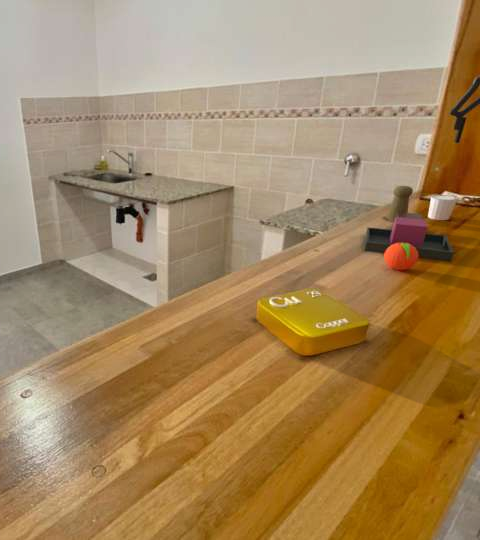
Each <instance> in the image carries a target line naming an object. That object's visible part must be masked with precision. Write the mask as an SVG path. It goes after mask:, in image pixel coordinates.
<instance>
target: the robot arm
mask: <svg viewBox="0 0 480 540" xmlns="http://www.w3.org/2000/svg"><path fill="white" fill-rule="evenodd" d="M479 88H480V76H477V77H475V78H474V80H473V82H472V84H471V86H470V87H469V88H468V90H467V91H466V92H465V93H464V94H463V95H462V96H461V98H460V99H459V100H458V101H457V103H456V104H455V105H453V107H452V108H451V109H450V111H449V112H448V114H449V115H450V116H452V117H455V121H454V124H453V128H452V129H453V130H454V131H456V134H455V138H454V141H453V143H455V144H459V143H460V141H461V138H462V134H463V132H464V131H463V130H464V127H465V125H466V121H467V117H466V115H467V114H468V113H470V112H471V111H472V110H474V109H475V108H476V107H477V106H479V105H480V95H479V96H478V97H476V99H474V100H472V101H471V102H470V103H469V104H468V105H467V106H465V107H464V108H463V109H462V107H463V106H464V105H465V104H466V103H467V101H468V100H469V99H470V98H471V97H472V96H473V95H474V93H476V91H477V90H478V89H479Z"/></svg>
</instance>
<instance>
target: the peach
mask: <svg viewBox="0 0 480 540" xmlns="http://www.w3.org/2000/svg"><path fill="white" fill-rule="evenodd" d="M383 255H384V256H383V258H384V262H385V264H386V265H387V266H388V267H389V268H391V269H393V270H395V271H405V270H409V269H411V268H413V267H415V265H416V264H417V262H418V260H419V257H418V256H419V255H418V251H417V250H416V248H415V247H414V246H412V245H411V244H408V243H405V242H404V243H403V242H400V243H395V244H393V245H391V246H390V247H388V249H387V250H386V252H385V253H383Z"/></svg>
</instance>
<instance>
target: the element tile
mask: <svg viewBox="0 0 480 540" xmlns="http://www.w3.org/2000/svg"><path fill="white" fill-rule="evenodd" d="M255 318H256V321H257V322H258V323H260V325H262V326H263V327H264V328H265V329H266V330H268V331H269V332H270V333H271V334H272V335H274V336H275V337H276V338H277V339H278V340H280V341H281V342H282V343H283V344H285V345H286V346H287V347H288V348H290V349H291V350H292V351H293V352H294V353H296V354H298V355H300V356H304V357H310V356H311V357H312V356H317V355H320V354H324V353H327V352H332V351H335V350H338V349H342V348H343V349H344V348H346V347H350V346H351V347H352V346H354V345H359V344H362V343H364V342H365V341H366V338H367V335H368V331H369V327H370V320H369V318H368V317H367V316H366V315H363V314H361V313H360V312H358V311H356V310H355V309H353V308H352V307H349V306H348V305H346V304H345V303H342V302H341V301H339V300H337V299H335V298H334V297H332V296H330V294H329V295H328V294H327V293H325V292H324V291H321V290H319V289H318V288H305V289H300V290H295V291H290V292H287V293H280V294H276V295H272V296H267V297H263V298H260V299H258V300H257V306H256V316H255Z"/></svg>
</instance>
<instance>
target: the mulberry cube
mask: <svg viewBox="0 0 480 540" xmlns="http://www.w3.org/2000/svg"><path fill="white" fill-rule="evenodd" d="M428 228H429V226H428V223H427V220H426V219H423V218H422V219H413V218H401V217H395V220H393V224H392V228H391V230H392V232H391V236H390V244H395V243H400V242H403V243H404V242H405V243H408V244H411V245H412V246H414V247H418V248H422V245H423V242H424V238H425V235H426V233H428V232H427V231H428Z"/></svg>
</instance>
